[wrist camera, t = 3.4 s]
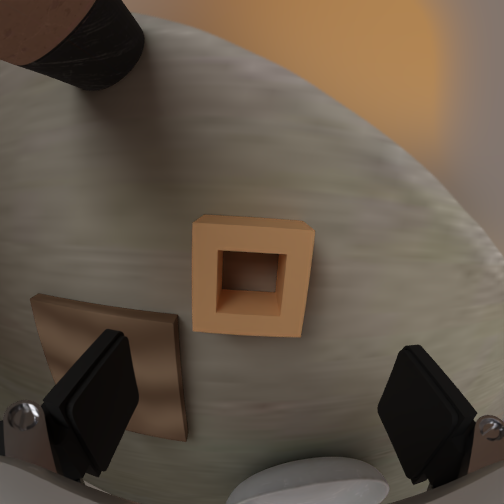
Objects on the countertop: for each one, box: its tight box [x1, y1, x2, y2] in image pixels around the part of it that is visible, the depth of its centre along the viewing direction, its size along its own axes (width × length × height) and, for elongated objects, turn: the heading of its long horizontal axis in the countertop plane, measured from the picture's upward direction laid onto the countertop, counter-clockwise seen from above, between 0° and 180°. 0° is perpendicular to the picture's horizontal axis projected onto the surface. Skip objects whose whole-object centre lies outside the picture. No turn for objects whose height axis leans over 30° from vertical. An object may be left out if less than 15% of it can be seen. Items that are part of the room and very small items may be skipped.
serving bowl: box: [226, 457, 389, 504], centre depth 25 cm, size 21×21×7 cm
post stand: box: [30, 293, 188, 442], centre depth 18 cm, size 15×15×12 cm
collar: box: [192, 215, 315, 337], centre depth 19 cm, size 7×7×4 cm
